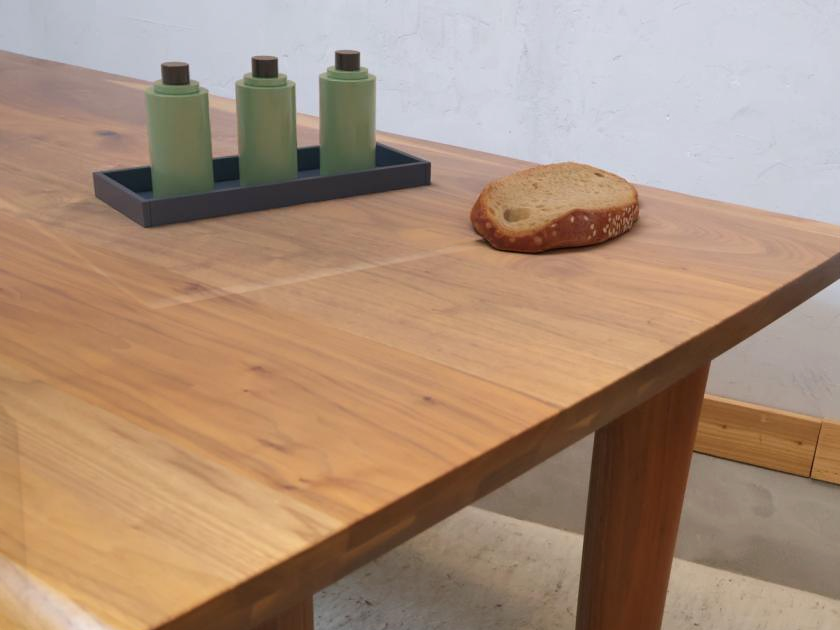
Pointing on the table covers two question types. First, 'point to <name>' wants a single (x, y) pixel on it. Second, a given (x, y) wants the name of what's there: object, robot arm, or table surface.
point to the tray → (256, 187)
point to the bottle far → (347, 116)
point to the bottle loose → (179, 133)
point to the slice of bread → (555, 208)
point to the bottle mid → (266, 124)
